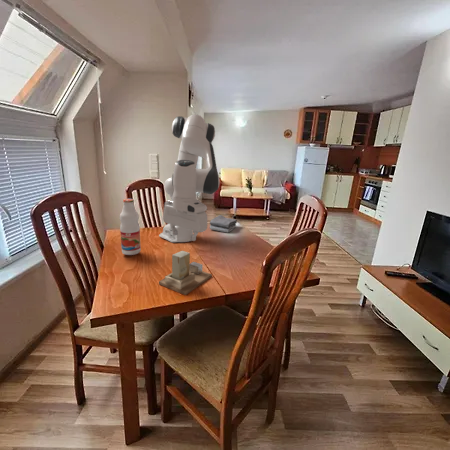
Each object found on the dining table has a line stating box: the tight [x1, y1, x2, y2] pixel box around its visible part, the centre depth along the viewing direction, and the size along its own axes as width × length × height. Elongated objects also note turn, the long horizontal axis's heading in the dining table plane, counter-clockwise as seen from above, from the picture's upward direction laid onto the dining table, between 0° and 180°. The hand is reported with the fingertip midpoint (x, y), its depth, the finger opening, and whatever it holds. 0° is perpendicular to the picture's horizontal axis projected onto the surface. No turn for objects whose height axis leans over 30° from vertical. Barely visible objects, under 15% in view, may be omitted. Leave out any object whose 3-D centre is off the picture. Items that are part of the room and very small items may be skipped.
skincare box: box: [171, 250, 191, 281], centre depth 101 cm, size 6×4×12 cm
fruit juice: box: [119, 198, 142, 256], centre depth 127 cm, size 9×9×28 cm
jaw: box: [189, 261, 203, 274], centre depth 110 cm, size 5×3×4 cm, turn 59°
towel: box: [209, 214, 238, 234], centre depth 178 cm, size 15×18×8 cm
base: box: [158, 270, 213, 296], centre depth 105 cm, size 14×18×4 cm
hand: (183, 237), depth 100 cm, fingers open, 8 cm apart
